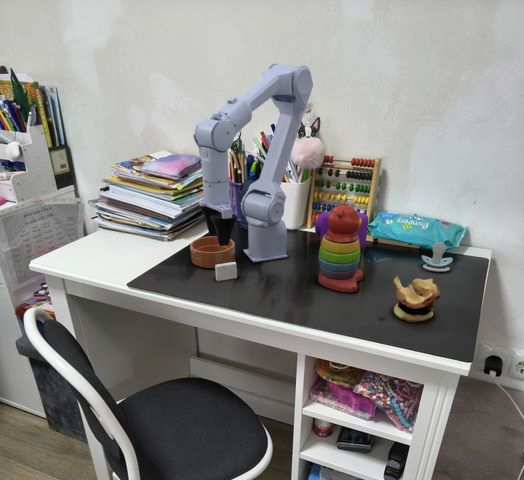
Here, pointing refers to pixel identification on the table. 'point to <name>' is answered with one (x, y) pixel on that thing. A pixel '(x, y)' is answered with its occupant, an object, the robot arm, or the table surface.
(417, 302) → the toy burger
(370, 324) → the table surface
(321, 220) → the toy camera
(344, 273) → the stacking bear
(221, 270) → the eraser
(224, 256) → the bowl
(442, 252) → the pacifier
